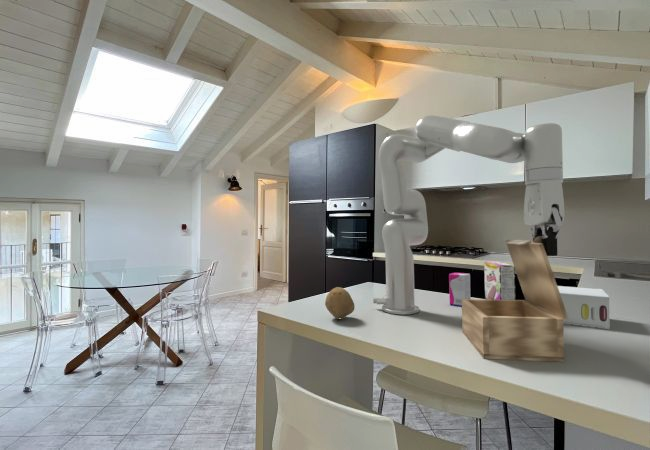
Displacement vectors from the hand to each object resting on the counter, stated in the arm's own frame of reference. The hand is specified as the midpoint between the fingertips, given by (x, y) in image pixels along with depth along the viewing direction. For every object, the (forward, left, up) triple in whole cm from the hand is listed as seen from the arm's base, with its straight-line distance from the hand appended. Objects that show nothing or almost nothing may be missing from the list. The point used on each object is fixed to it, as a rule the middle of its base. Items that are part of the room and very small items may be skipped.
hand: (544, 254), depth 78 cm
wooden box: (-9, 0, -22) cm, 24 cm away
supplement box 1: (-10, +41, -22) cm, 48 cm away
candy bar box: (0, +31, -22) cm, 38 cm away
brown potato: (-52, +19, -22) cm, 59 cm away
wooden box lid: (-5, 0, -5) cm, 7 cm away
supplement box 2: (+18, +25, -22) cm, 38 cm away
